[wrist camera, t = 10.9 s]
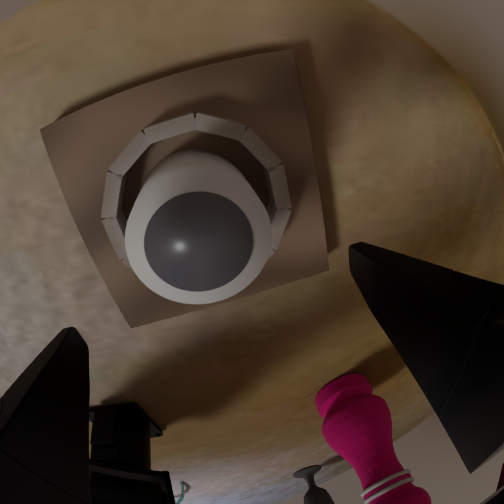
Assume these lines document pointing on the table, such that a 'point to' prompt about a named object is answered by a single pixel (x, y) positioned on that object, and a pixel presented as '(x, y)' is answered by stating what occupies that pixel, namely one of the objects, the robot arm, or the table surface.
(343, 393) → the pepper mill
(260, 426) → the table surface
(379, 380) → the table surface
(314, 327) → the table surface
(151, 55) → the table surface
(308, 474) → the sundae
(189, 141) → the mount board
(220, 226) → the lens
